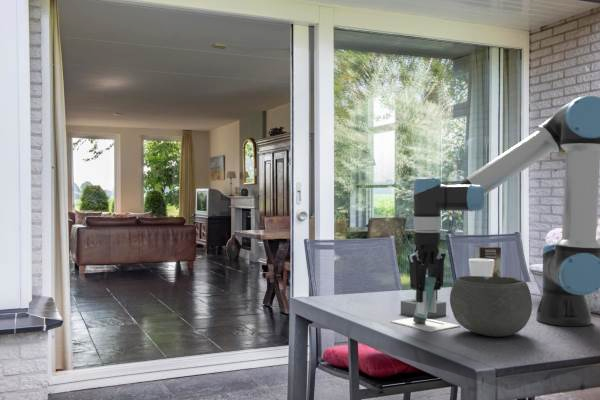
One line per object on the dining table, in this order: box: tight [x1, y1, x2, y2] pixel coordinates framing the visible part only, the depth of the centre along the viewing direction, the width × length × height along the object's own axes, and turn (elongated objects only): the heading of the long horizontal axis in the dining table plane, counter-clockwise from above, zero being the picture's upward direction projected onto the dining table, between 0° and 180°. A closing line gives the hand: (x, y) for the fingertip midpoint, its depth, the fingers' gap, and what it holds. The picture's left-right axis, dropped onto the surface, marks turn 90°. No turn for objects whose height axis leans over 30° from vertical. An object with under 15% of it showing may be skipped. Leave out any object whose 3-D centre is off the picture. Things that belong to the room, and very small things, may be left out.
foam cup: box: [468, 258, 494, 277], centre depth 235 cm, size 10×9×13 cm
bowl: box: [449, 275, 533, 338], centre depth 165 cm, size 21×21×15 cm
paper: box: [390, 316, 461, 333], centre depth 178 cm, size 16×12×1 cm
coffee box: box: [474, 245, 502, 277], centre depth 259 cm, size 9×6×16 cm
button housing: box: [400, 298, 447, 319], centre depth 193 cm, size 10×10×4 cm
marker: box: [412, 274, 436, 324], centre depth 176 cm, size 4×4×14 cm
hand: (426, 312), depth 175 cm, fingers closed on marker, 3 cm apart
